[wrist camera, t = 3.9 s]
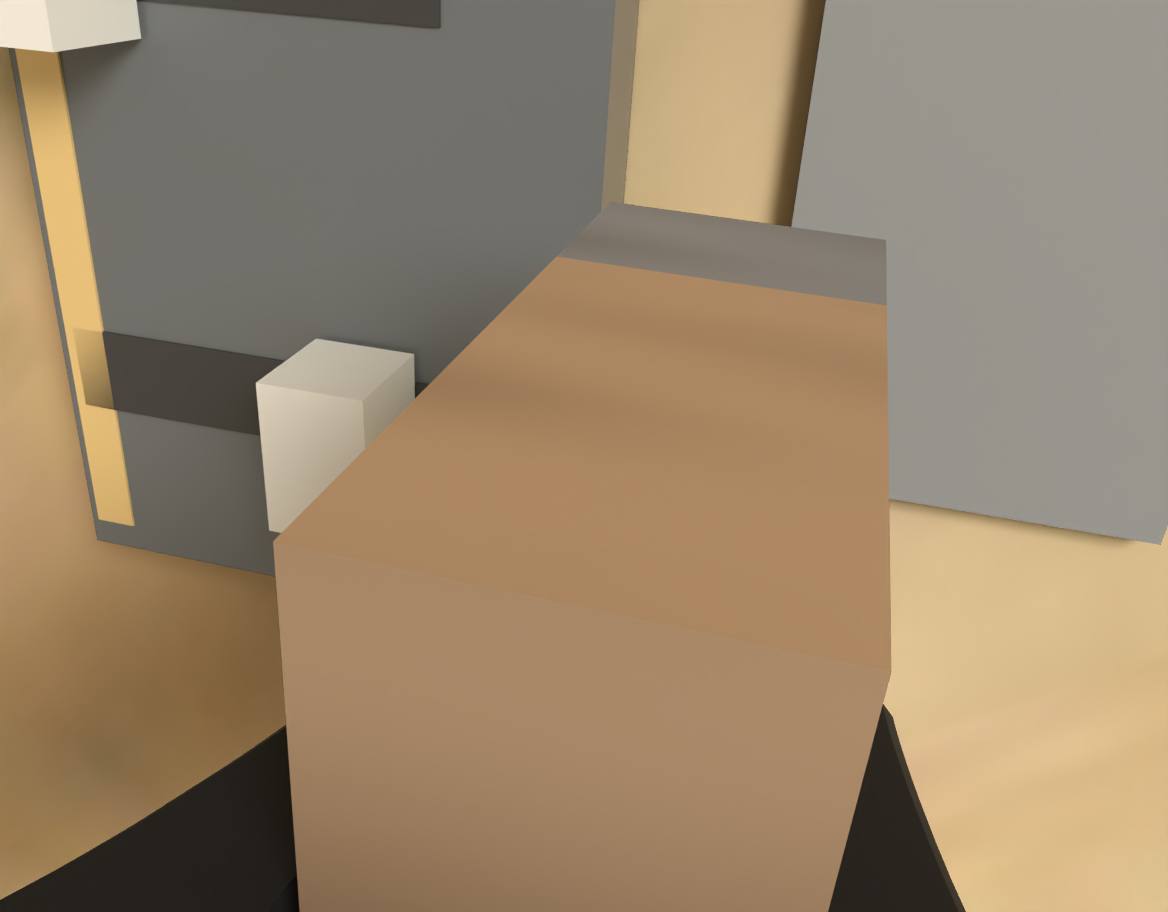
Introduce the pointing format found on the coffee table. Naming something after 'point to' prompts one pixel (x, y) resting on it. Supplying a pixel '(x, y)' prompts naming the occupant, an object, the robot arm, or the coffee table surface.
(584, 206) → the switch board
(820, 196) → the tool pad
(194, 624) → the coffee table surface
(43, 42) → the tab
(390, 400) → the tab
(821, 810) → the bar
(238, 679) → the coffee table surface
